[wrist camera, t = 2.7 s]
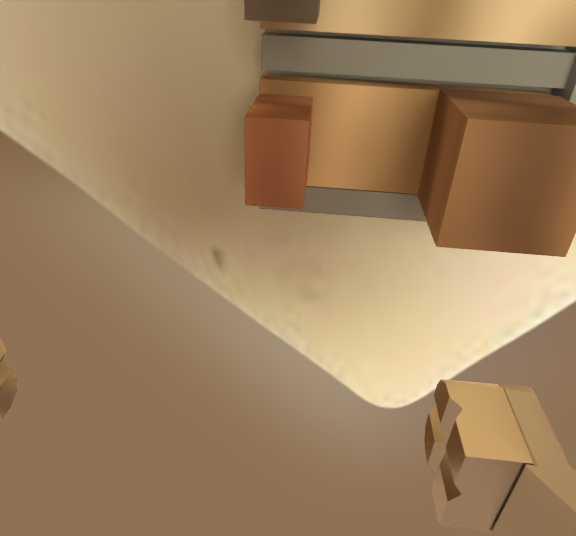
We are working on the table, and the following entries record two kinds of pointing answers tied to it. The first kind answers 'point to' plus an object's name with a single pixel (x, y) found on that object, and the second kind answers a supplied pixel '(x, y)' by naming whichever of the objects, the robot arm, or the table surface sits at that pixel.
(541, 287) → the table surface
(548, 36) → the maple strip
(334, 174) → the oak strip
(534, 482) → the robot arm
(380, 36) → the lane tray
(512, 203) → the walnut cube
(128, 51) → the table surface
